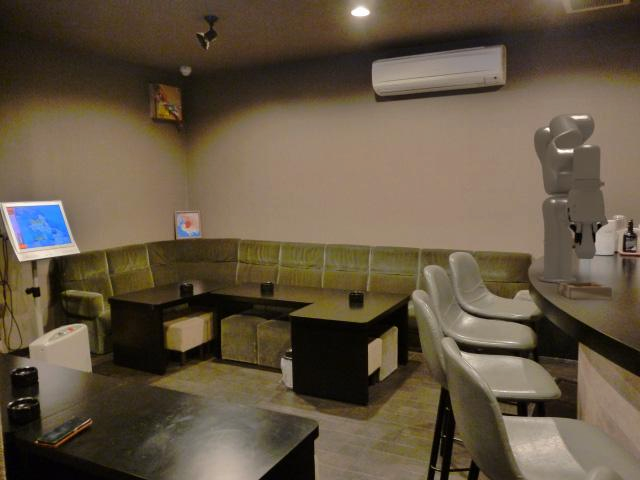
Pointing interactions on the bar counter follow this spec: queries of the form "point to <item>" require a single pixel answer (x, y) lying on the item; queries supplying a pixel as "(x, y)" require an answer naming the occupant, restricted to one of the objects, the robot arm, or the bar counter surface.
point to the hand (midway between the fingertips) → (584, 245)
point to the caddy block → (585, 290)
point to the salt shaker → (586, 242)
